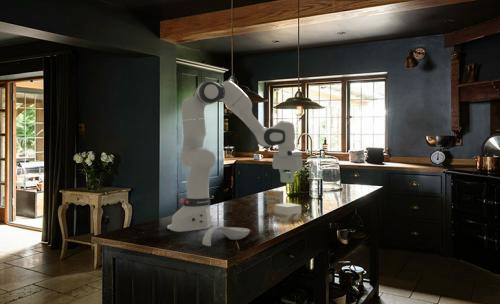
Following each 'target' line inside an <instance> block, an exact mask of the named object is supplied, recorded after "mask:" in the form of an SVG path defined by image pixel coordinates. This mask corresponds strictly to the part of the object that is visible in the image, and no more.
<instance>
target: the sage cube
mask: <svg viewBox="0 0 500 304" xmlns="http://www.w3.org/2000/svg"><path fill="white" fill-rule="evenodd" d="M279 174H280V178H279V179H280V183H287V184H288V183H294V182H295V174H294V175H293V179H289V175H290V174H291V172H290V171H283V172H279Z"/></svg>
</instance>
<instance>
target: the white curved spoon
mask: <svg viewBox="0 0 500 304" xmlns="http://www.w3.org/2000/svg"><path fill="white" fill-rule="evenodd" d="M218 230H220V231H221V232H222V233H223V234H224V235H225V236H226V237H227V238H228V240H232V241H234V240H241V239H245V238H246V237H247V236H248V235H249V233H250V231H251V230H250V229H249V228H245V227H226V226H220V225H214V226H213V225H212V226H211V227H210V228H208V230H207V231H206V232H205V234H204V235H203V238H202V246H205V247H206V246H207V247H211V246H212V236H213V235H214V233H215V232H216V231H218Z"/></svg>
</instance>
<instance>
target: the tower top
mask: <svg viewBox="0 0 500 304" xmlns="http://www.w3.org/2000/svg"><path fill="white" fill-rule="evenodd" d="M275 212H276V213H280V214H285V215H290V214H296V213H301V214H302V205H301V204H298V203H293V202H292V203H291V202H283V204H276V205H275Z"/></svg>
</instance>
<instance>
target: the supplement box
mask: <svg viewBox="0 0 500 304" xmlns="http://www.w3.org/2000/svg"><path fill="white" fill-rule="evenodd" d="M276 204H284V190H274V189H270V190H267V214H270V215H274V212H275V205H276Z"/></svg>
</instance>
